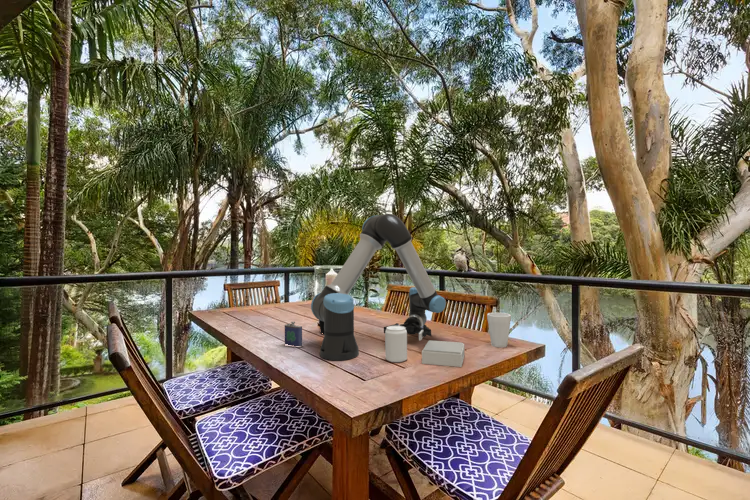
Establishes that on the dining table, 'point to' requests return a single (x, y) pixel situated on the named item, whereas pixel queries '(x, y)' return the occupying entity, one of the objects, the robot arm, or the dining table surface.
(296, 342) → the flask
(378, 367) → the dining table surface
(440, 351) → the pedestal
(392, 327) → the beverage can
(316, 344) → the dining table surface
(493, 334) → the foam cup
